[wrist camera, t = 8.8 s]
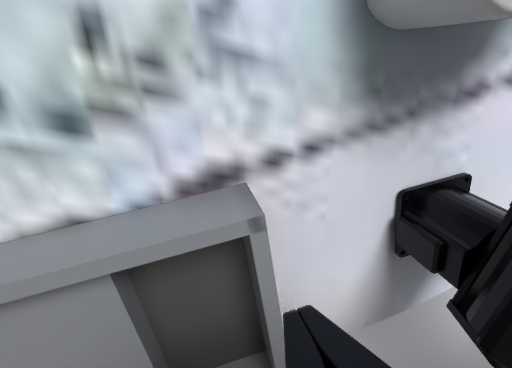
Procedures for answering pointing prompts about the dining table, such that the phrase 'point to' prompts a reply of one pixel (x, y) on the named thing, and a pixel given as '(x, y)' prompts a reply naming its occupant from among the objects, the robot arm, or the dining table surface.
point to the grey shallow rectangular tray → (146, 290)
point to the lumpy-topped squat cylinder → (437, 12)
